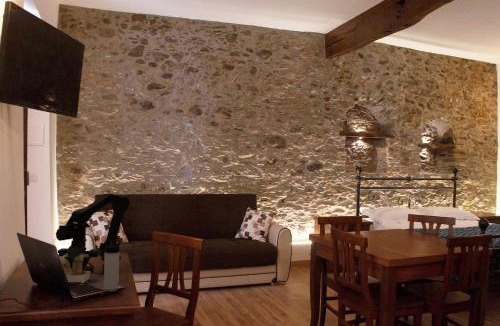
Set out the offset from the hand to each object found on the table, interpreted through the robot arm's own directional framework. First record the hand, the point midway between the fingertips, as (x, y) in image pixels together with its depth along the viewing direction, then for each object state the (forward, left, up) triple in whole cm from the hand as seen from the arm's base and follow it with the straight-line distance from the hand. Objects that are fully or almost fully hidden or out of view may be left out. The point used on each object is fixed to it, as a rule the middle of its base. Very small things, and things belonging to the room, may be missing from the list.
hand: (78, 271), depth 194 cm
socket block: (0, 0, -5) cm, 5 cm away
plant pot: (+15, -30, -5) cm, 34 cm away
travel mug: (-19, +11, -5) cm, 23 cm away
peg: (0, 0, -4) cm, 4 cm away
